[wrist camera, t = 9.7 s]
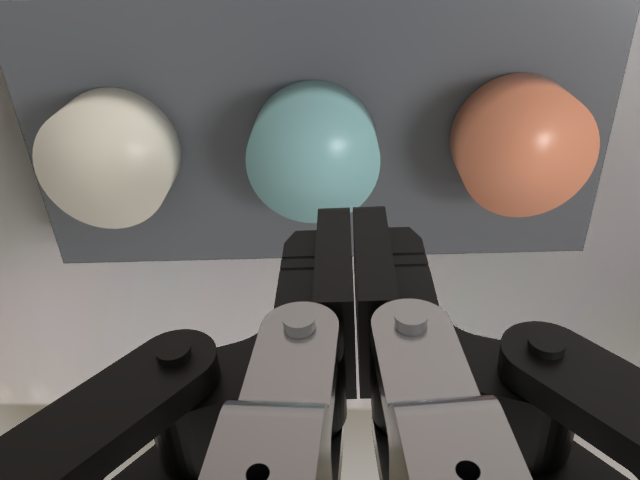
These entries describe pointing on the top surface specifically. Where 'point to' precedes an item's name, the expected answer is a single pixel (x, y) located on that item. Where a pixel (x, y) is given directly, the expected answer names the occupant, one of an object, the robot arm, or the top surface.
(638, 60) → the top surface
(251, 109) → the console
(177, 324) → the top surface
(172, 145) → the cream button
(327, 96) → the teal button
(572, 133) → the terracotta button
